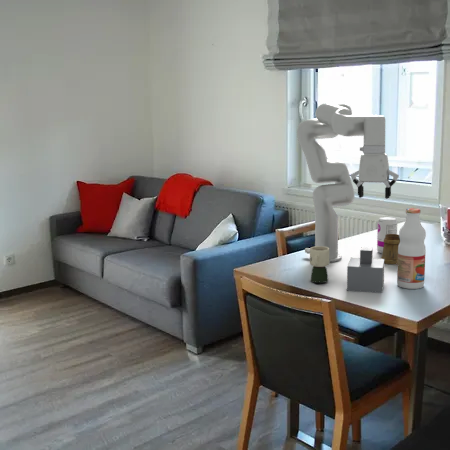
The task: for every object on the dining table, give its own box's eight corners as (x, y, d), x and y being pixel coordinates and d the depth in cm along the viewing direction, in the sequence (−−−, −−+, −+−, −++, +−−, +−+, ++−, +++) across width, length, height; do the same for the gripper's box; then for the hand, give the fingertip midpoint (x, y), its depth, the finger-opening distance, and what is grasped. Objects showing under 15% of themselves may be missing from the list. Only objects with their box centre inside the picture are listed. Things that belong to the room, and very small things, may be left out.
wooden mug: (411, 267, 241) (413, 222, 237) (378, 263, 247) (379, 220, 244) (416, 261, 248) (418, 218, 245) (383, 258, 255) (385, 216, 251)
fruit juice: (398, 280, 224) (400, 206, 218) (425, 282, 220) (428, 207, 215) (395, 288, 215) (397, 211, 210) (423, 290, 212) (426, 212, 206)
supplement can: (375, 253, 262) (376, 219, 259) (378, 249, 269) (379, 216, 266) (395, 255, 259) (396, 220, 256) (397, 250, 266) (398, 217, 263)
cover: (347, 290, 214) (347, 252, 211) (350, 280, 226) (351, 244, 223) (381, 292, 211) (382, 254, 208) (383, 282, 222) (384, 245, 219)
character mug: (314, 277, 231) (314, 244, 229) (332, 278, 228) (332, 245, 226) (305, 285, 222) (305, 251, 219) (324, 287, 219) (325, 252, 216)
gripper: (347, 151, 217) (347, 198, 221) (395, 151, 209) (395, 200, 212) (354, 149, 224) (354, 195, 227) (401, 149, 215) (400, 197, 218)
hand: (374, 197), depth 219 cm, fingers open, 9 cm apart
